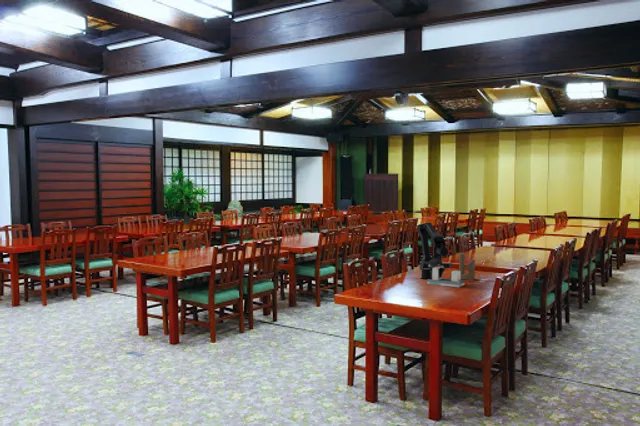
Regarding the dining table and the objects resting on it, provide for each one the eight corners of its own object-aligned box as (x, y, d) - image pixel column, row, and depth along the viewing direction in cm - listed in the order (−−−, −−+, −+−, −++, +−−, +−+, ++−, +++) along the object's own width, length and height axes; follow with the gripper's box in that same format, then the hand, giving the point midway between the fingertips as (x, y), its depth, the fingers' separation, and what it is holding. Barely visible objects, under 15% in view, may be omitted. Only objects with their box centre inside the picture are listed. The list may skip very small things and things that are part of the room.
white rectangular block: (435, 278, 358) (436, 266, 358) (442, 279, 356) (442, 267, 355) (432, 279, 353) (432, 268, 353) (438, 280, 351) (438, 268, 350)
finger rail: (427, 283, 353) (427, 269, 353) (433, 281, 362) (433, 267, 361) (459, 287, 341) (459, 272, 340) (464, 284, 349) (464, 270, 348)
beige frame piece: (472, 280, 365) (473, 254, 364) (458, 278, 371) (458, 253, 370) (474, 279, 368) (475, 254, 367) (460, 277, 374) (460, 252, 373)
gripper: (419, 254, 352) (419, 277, 353) (446, 256, 341) (446, 280, 342) (426, 252, 361) (426, 275, 362) (452, 254, 351) (452, 277, 352)
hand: (437, 277), depth 354 cm, fingers closed on white rectangular block, 4 cm apart
